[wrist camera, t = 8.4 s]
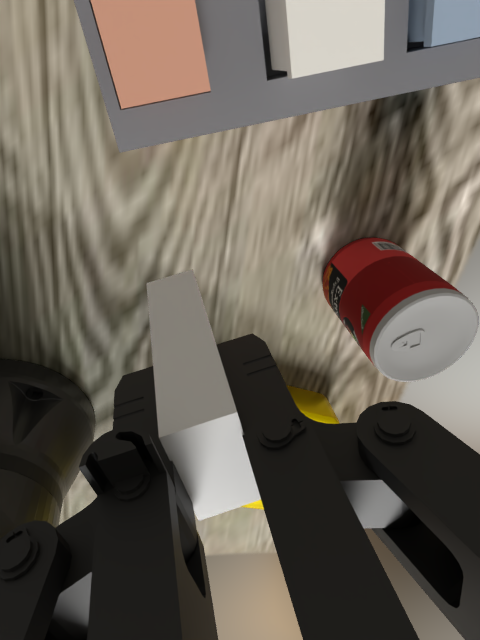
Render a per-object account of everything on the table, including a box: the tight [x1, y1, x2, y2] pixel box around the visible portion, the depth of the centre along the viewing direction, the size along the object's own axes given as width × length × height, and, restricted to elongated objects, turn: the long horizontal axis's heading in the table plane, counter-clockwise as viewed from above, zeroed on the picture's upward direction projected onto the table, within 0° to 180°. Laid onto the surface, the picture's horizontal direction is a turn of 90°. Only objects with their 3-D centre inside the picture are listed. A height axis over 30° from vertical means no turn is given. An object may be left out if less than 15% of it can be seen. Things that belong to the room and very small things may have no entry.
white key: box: [265, 0, 385, 79], centre depth 23 cm, size 5×5×5 cm
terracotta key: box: [91, 0, 211, 109], centre depth 24 cm, size 5×5×5 cm
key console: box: [74, 0, 480, 152], centre depth 26 cm, size 25×10×4 cm, turn 99°
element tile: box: [241, 385, 340, 510], centre depth 46 cm, size 15×15×5 cm
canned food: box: [323, 238, 479, 382], centre depth 35 cm, size 8×8×11 cm
